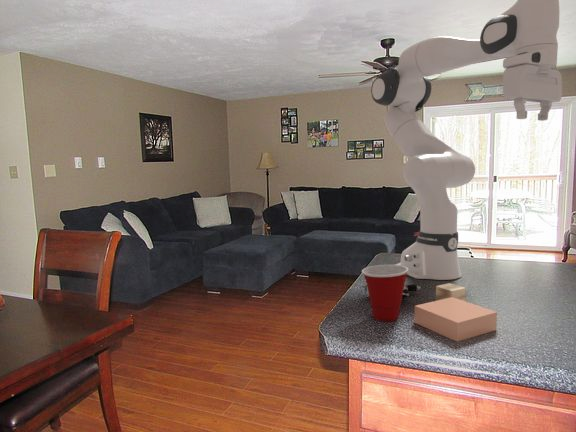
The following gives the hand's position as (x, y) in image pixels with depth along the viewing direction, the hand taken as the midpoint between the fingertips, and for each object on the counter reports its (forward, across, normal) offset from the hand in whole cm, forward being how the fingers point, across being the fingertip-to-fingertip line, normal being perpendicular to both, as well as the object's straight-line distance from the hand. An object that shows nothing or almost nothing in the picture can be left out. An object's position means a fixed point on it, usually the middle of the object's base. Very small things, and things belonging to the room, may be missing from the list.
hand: (532, 119), depth 102 cm
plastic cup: (+46, +37, -12) cm, 61 cm away
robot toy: (+47, +25, -22) cm, 57 cm away
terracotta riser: (+46, +29, +1) cm, 54 cm away
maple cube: (+46, +18, -8) cm, 51 cm away
